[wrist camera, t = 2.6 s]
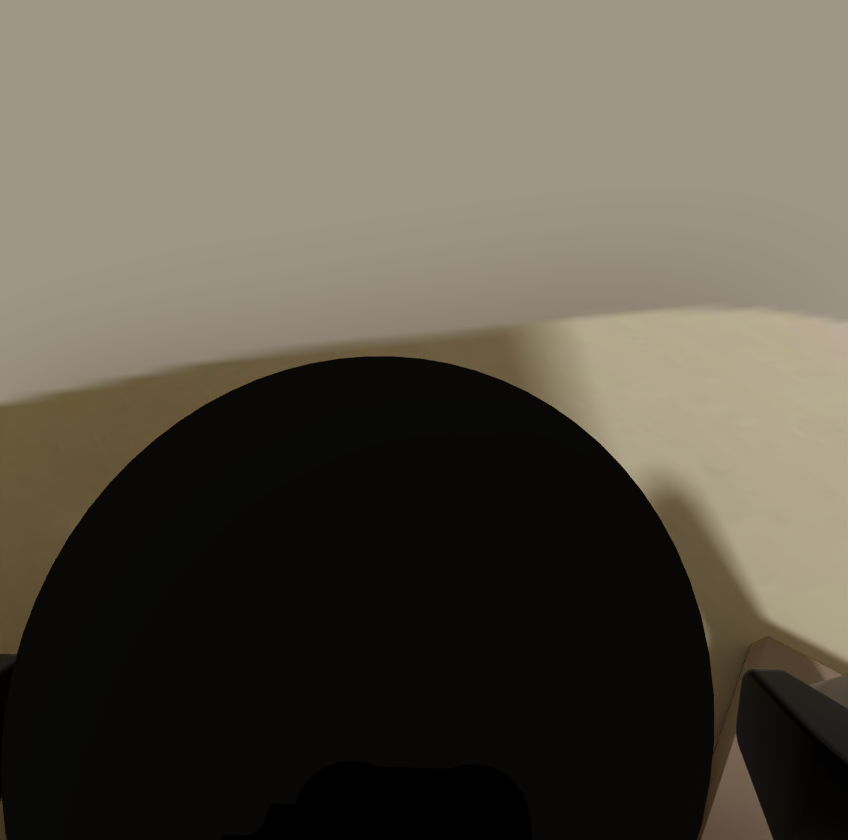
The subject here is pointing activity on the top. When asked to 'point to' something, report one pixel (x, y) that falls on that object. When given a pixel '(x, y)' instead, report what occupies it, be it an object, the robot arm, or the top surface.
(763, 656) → the cradle
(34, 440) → the top surface
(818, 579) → the top surface
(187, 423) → the supplement container
